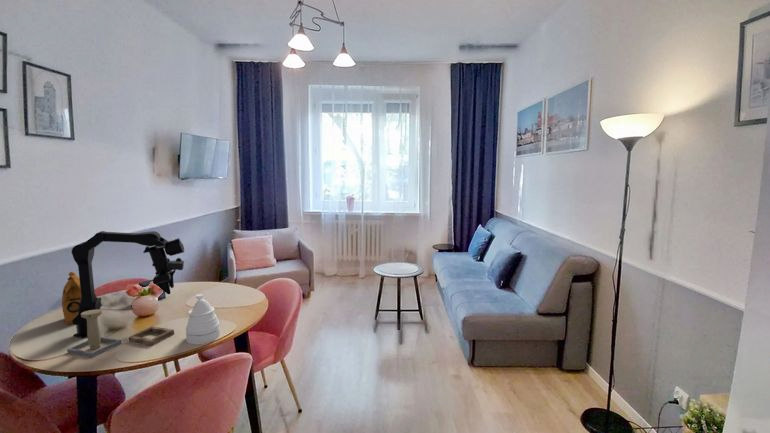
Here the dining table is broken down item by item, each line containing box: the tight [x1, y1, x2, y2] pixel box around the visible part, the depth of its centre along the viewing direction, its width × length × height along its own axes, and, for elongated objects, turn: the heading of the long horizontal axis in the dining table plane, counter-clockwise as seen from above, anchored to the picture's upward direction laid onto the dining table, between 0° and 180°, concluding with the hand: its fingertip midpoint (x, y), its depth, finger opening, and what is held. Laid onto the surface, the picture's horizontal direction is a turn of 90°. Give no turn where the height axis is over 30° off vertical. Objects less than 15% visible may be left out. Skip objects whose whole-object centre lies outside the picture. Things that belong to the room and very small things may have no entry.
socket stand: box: [128, 325, 175, 347], centre depth 153 cm, size 12×11×2 cm
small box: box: [138, 279, 167, 301], centre depth 196 cm, size 11×6×10 cm, turn 148°
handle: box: [81, 309, 103, 351], centre depth 143 cm, size 5×6×15 cm
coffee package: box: [61, 271, 81, 325], centre depth 170 cm, size 10×12×22 cm
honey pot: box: [185, 293, 221, 345], centre depth 153 cm, size 13×13×18 cm
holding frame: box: [66, 336, 122, 358], centre depth 144 cm, size 13×12×2 cm
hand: (171, 290), depth 166 cm, fingers open, 9 cm apart
